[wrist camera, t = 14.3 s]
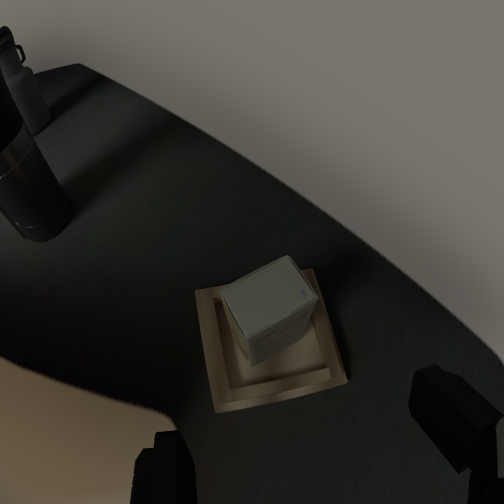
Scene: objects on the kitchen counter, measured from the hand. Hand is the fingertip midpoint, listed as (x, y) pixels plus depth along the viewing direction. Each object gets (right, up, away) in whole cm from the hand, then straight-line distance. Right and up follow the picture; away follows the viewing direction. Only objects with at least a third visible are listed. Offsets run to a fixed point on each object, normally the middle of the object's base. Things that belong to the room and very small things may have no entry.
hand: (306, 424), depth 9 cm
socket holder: (0, -4, +25) cm, 25 cm away
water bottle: (-53, +35, +49) cm, 81 cm away
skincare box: (0, -4, +24) cm, 25 cm away
